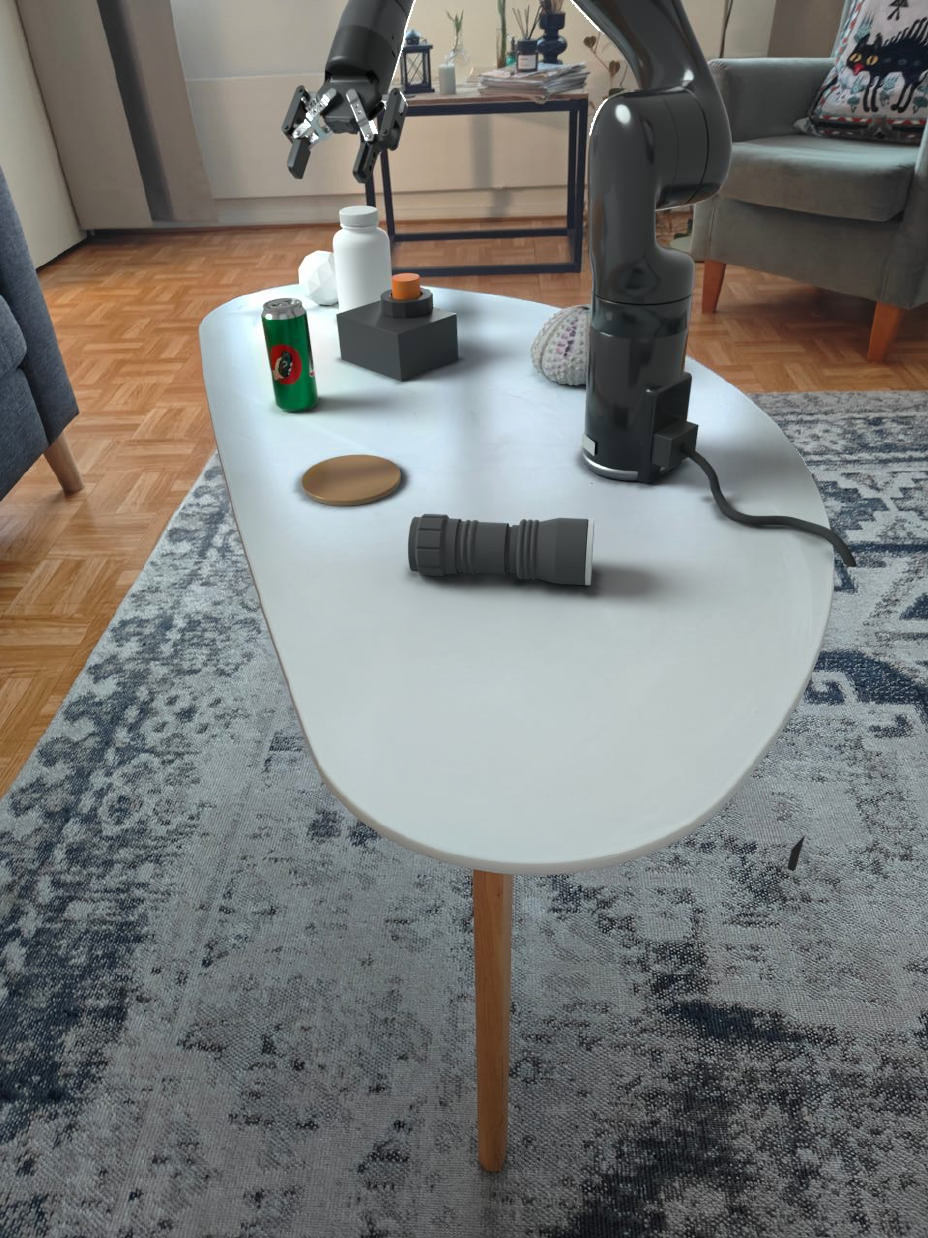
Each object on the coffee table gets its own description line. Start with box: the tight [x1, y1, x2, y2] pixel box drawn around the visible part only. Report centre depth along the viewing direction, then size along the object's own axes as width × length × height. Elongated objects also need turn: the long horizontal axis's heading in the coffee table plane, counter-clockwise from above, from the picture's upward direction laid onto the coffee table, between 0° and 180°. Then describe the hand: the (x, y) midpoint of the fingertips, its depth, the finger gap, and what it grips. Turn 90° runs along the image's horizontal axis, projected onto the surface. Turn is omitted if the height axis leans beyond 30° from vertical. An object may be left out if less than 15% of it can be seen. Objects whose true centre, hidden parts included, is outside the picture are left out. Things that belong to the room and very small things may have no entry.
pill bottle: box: [332, 205, 393, 313], centre depth 128 cm, size 8×8×15 cm
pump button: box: [391, 272, 421, 300], centre depth 114 cm, size 4×4×2 cm
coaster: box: [300, 454, 402, 507], centre depth 91 cm, size 10×10×1 cm
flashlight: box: [407, 513, 595, 586], centre depth 75 cm, size 15×5×5 cm, turn 81°
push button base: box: [335, 286, 459, 383], centre depth 116 cm, size 12×10×8 cm
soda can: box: [260, 297, 319, 413], centre depth 104 cm, size 5×5×12 cm
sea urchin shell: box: [529, 303, 591, 386], centre depth 110 cm, size 13×14×8 cm
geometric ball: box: [298, 249, 339, 306], centre depth 137 cm, size 8×8×8 cm
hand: (326, 176), depth 102 cm, fingers open, 8 cm apart
